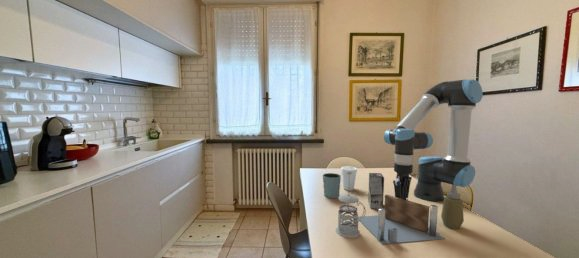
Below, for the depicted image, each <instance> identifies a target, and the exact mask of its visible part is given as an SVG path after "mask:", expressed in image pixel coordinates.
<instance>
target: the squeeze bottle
mask: <svg viewBox="0 0 579 258" xmlns="http://www.w3.org/2000/svg"><path fill="white" fill-rule="evenodd" d="M440 217H441V220H442V223H443V225H444V227H447V228H449V229H452V230H459V229H461V227H462V225H463V223H464V221H465V220H464V204H463V200H462V198H461V193H459V192H458V190H457V186H456V185H451V189H450V191H447V192H446V196H444V200H443V204H442V209H441V214H440Z"/></svg>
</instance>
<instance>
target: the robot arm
mask: <svg viewBox="0 0 579 258" xmlns="http://www.w3.org/2000/svg"><path fill="white" fill-rule="evenodd" d="M482 99H483V88H482V85H481V84H480V82H479V81H478V80H476V79H467V78H466V79H460V80H459V79H458V80H451V81H449V80H447V81H442V82H439V83H436V84H435V85H434V86H432V87H431V88H428V90H427V91H426V92H424V93H423V94H422V96H421V97H420V101H418V103H417V104H416V105H415V106H414V107H413V108H411V110H410V111H409V112H408V113H407V114H406V115H405V116H404V118H403V119H402V120H400V122H399V123H398V124H397V125H396V126H395V127H394V128H393V129H387V130H385V132H384V134H383V140H384V142H385V143H386V145H387V144H388V145H392V146H394V155H393V157H394V163H393V164H394V165H393V172H395V173H396V177H395V178H396V179H395V180H393V181H392V183H393V186H394V187H393V189H394V197H398V198H401V199H405V200H408V201H409V199H408V198H409V195H410V188H411V181H412V178H413V177H412V176H410V174H412V173H413V171H414V170H413V168H414V167H413V166H414V165H413V164H414V151H415V150H424V149H429V148H430V147H431V146H432V145H433V144H434V138H433V136H432V134H430V133H429V132H426V131H425V132H424V131H421V132H417V131H415V129H416V128H417V127H418V126H419V125H420V124H421V123H422V122H423V120H425V118H426V117H427V116H428V115H429V114H430V113H431V112H432V110H433V109H437V108H438V107H439V106H440V105H443V104H447V107H448V108H449V109H450V119H449V129H448V130H449V132H448V142H447V154H446V156H444V157H442V156H433V155H432V156H429V155H428V156H421V157H420V158H419V159H418V164H417V166H418V167H417V170H418V171H417V173H418V174H417V182H416V185H415V188H414V190H413V195H414V197H416V198H419V199H421V200H425V201H431V202H440V201H441V202H442V201H444V198H445V193H444V189H443V187H442V183H443V184H447V185H451V186H452V185H456V187H459V188H467V187H469V186H470V185H471V184H472V183H473V182H474V180H475V179H474V178H475V175H476V168H475V167H474V166H473V165H472V164H471V162H472V161H471V160H470V159H469V158H468V152H469V144H470V143H469V142H470V131H471V130H470V129H471V120H472V110H473V109H475V108H476V106H477V105H476V104H478V103H480V102H481V101H482Z"/></svg>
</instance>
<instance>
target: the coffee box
mask: <svg viewBox="0 0 579 258" xmlns="http://www.w3.org/2000/svg"><path fill="white" fill-rule="evenodd" d="M384 191H385V177H384V175H383V174H382V173H380V172H377V173H376V172H369V173H368V205H369V209H377V210H378V209H379V208H383V209H384Z"/></svg>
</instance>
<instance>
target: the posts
mask: <svg viewBox="0 0 579 258" xmlns="http://www.w3.org/2000/svg"><path fill="white" fill-rule="evenodd" d="M438 209H439V207H438V205H435V204H431V205H430V208H429V235H430V236H434V237H435V236H436V232H437V230H438V229H437V228H438V227H437V226H438ZM377 210H378V213H377V214H378V237H377V238H376V239H377V241H378V242H380V241H384V232H385V208H384V207H383V208H379V209H377ZM388 242H389V243H390V242H397V229H396V228H391V229H388Z"/></svg>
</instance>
